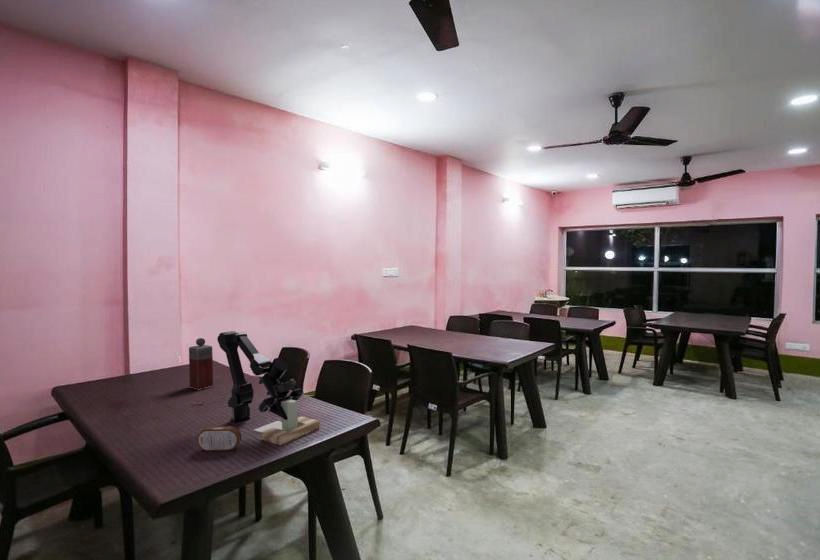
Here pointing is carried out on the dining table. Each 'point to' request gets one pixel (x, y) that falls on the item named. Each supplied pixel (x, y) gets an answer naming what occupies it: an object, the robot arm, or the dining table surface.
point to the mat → (270, 426)
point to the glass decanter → (200, 365)
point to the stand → (283, 436)
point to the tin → (219, 438)
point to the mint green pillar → (290, 415)
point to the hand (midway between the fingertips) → (292, 417)
